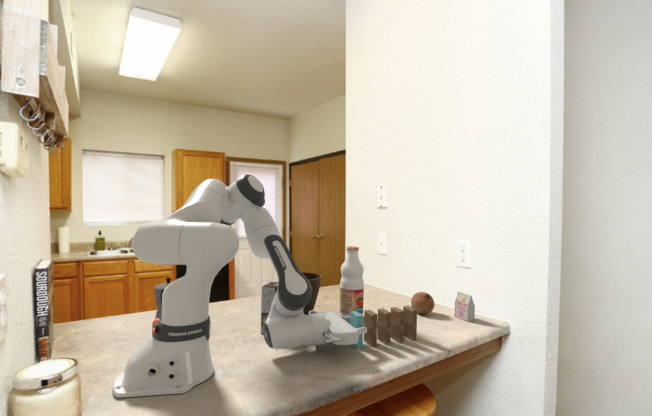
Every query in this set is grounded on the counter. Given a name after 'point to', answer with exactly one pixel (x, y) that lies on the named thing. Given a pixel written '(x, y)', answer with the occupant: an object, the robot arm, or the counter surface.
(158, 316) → the coffeepot
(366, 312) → the domino
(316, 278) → the plant pot
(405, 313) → the domino
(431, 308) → the onion
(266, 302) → the coffee box
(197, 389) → the counter surface
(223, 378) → the counter surface
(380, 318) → the domino
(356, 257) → the fruit juice
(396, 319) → the domino
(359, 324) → the teal domino tile
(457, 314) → the tea bag
